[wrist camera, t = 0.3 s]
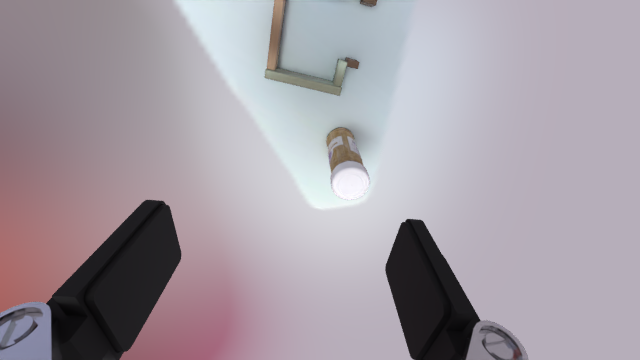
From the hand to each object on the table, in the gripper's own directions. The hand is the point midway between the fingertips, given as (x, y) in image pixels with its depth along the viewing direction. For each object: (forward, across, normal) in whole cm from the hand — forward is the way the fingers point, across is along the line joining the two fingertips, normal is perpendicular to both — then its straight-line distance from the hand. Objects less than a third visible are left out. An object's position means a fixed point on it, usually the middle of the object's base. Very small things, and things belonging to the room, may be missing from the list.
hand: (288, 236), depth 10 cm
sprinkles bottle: (+30, -6, +8) cm, 32 cm away
